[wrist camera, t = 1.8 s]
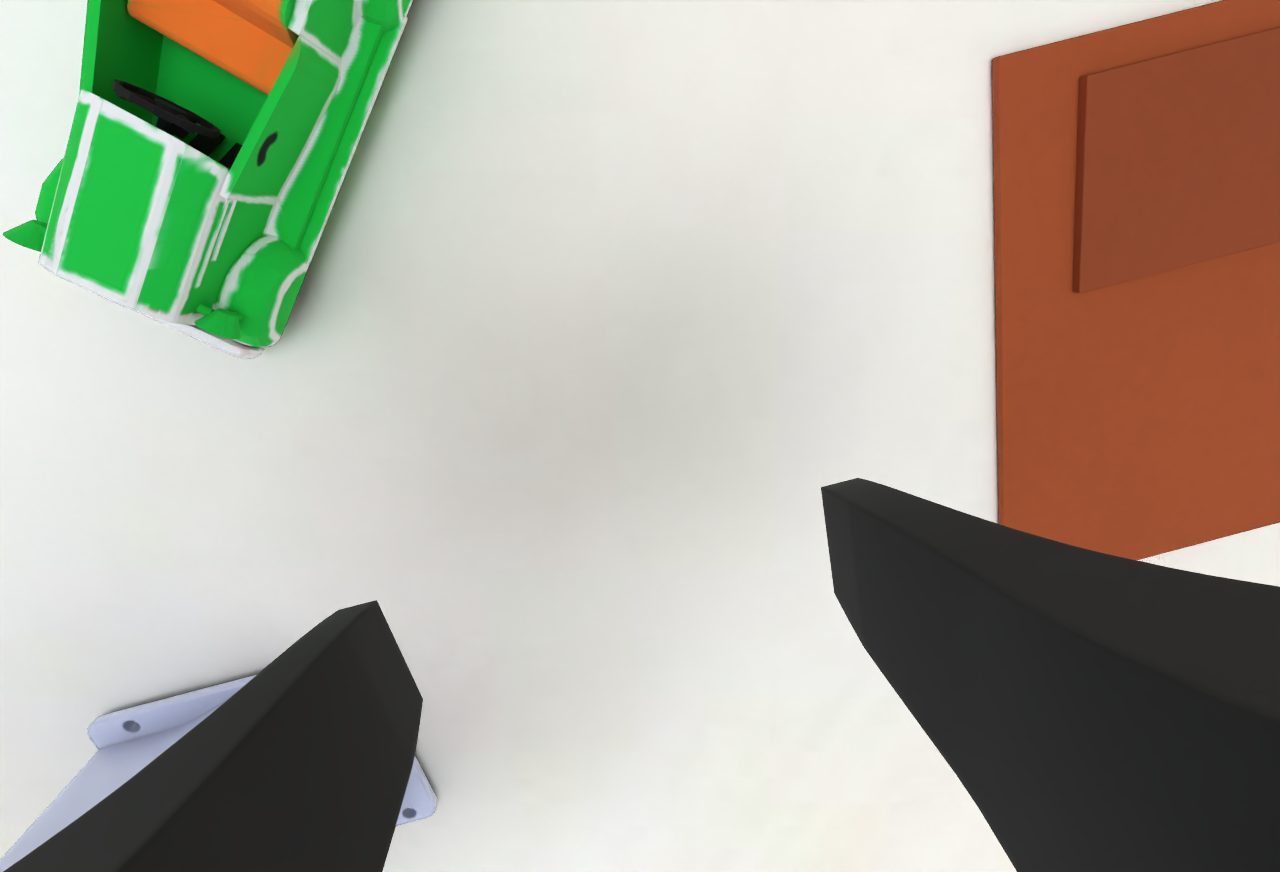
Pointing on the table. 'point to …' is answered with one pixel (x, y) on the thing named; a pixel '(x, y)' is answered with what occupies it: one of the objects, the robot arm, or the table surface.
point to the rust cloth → (1140, 281)
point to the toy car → (210, 155)
